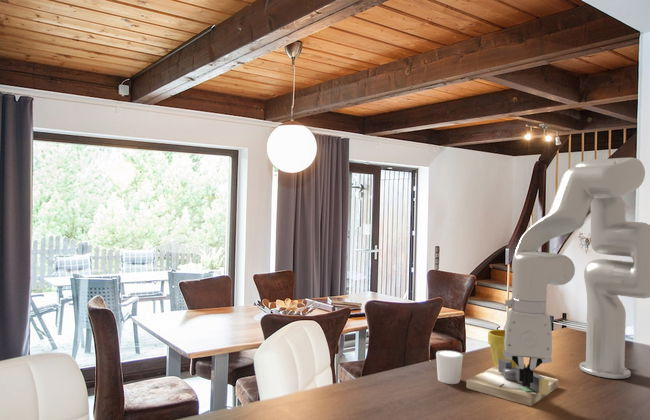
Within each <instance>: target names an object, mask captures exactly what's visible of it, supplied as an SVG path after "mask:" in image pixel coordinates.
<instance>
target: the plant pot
mask: <svg viewBox="0 0 650 420" xmlns="http://www.w3.org/2000/svg"><path fill="white" fill-rule="evenodd" d="M504 337H505V329H491V330H488V332H487V342H488V345H489V346H490V350H491V356H492V362H493V365H494V366H496V365H499V359H506V360H508V361H510V362H512V367H514V368H515V367H519V366H518V365H517V364H516V363H515V362H514V361H513V360H510V359H507V358H504V357H503V351H504ZM494 366H493V367H494Z"/></svg>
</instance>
